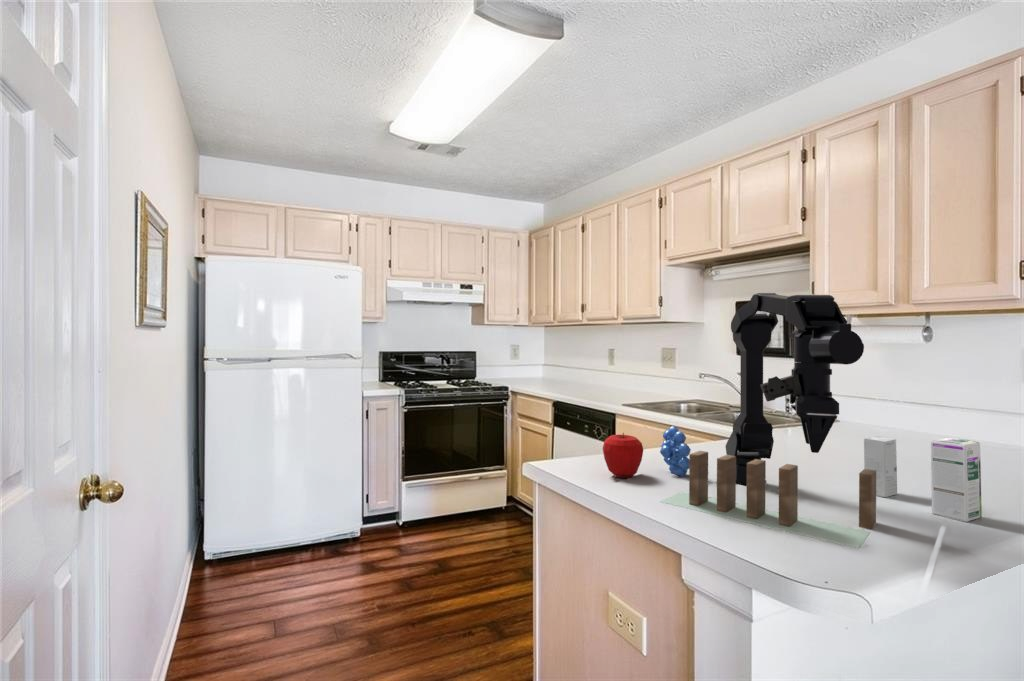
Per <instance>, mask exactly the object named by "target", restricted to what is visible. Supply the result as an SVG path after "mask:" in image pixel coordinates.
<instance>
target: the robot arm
mask: <svg viewBox="0 0 1024 681" xmlns="http://www.w3.org/2000/svg"><path fill="white" fill-rule="evenodd" d="M835 299H836V298H835V297H834V296H832V295H830V294H794V295H789V296H788V295H784V294H783V295H781V294H777V293H775V292H758V293H754V294H753V295H752V297H751V298H750V300H749V301H748V302H746V303H745V304H743V305H742V306H740V307H739V308H738V309H736V311H735V314H733V315H734V316H733V317H732V319H731V323H730V330H731V333H732V340H733V342H734V344H735V345H736V347H737V348H738V350H739V352H740V413H739V415H738V416H737V417H736V419H734V422H733V423H732V432H731V434H730V436H729V438H728V439H727V442H726V444H725V453H726V454H725V455H732V456H736V485H742V486H746V487H747V463H748V462H750V461H753V460H755V459H758V460H762V459H767V460H768V459H771V457H772V452H773V448H774V443H775V442H774V437H773V430H774V429H773V425H772V423H771V422H768V420H767V418H766V417H765V415H764V398H765V400H766V402H771V401H775V400H776V399H778V398H782V397H785V396H789V403H790V408H792V409H793V410H794V411H795V414H796V415H797V416H798V417H799V419H800V422H801V428H802V432H803V435H804V441H805V443H806V444H807V445H809V449H810V451H811V453H813V454H815V453H816V454H819V453H820V450H821V448H822V447H823V445H824V443H825V440H826V439H827V437H828V434H829V432H830V431H831V429H832V427H833V425H834V424H835V422H836V420H837V418H838V415H840V403H839V401H837V400H836V399H835V398H834V397H833V392H832V391H831V376H832V375H833V369H832V368H831V364H832V365H833V364H834V365H851V364H852V365H853V364H854V363H856V362H857V361H859V360H861V357H862V356H863V354H864V352H865V350H864V349H865V345H864V342H863V340H862V338H861V337H860V336H859V335H858V334H857V333H856V332H855V331H853V330H852V324H851V323H848V320H847V319H846V317H844V314H843V313H842V311H841V309H840V307H839V304H838V303H837V302H836V301H835ZM758 312H763V313H758ZM764 312H765V313H764ZM767 313H768V314H767ZM778 316H782V317H784V320H785V321H786V322H788V323H789V324H791V325H792V326H794V327H795V329H794V330H793V331H792V332H791V333H790V334H789V338H790V339H793V341H794V342H793V343H794V344H793V346H794V348H793V349H794V350H793V352H794V353H793V354H794V355H793V356H794V357H793V361H794V364H793V365H794V366H793V367H792V369H791V375H788V376H784V377H781V378H779V377H778V376H774V377H771V378H770V377H769V378H767V382H764V351H765V350H766V348H767V347H768V345H769V344H770V342H771V341H772V332H773V331H774V330H775V328H776V326H777V325H778V324H779V320H778Z"/></svg>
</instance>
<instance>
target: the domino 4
mask: <svg viewBox="0 0 1024 681" xmlns="http://www.w3.org/2000/svg"><path fill="white" fill-rule="evenodd" d="M798 468H799V466H798V465H797V464H791V463H786V464H784V465H782V466H781V467H779V468H778V512H779V525H782V526H787V527H791V526H792V525H793V524H794V523H795V522H796V521H798V516H799V515H798V513H799V512H798V509H799V508H798V507H799V506H798V505H799V504H798V501H799V500H798V499H799V498H798V497H799V496H798V495H799V494H798V488H799V487H798V485H799V484H798V483H799V482H798V481H799V480H798V479H799V476H798V475H799V474H798V473H799V469H798Z"/></svg>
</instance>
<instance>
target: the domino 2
mask: <svg viewBox="0 0 1024 681" xmlns="http://www.w3.org/2000/svg"><path fill="white" fill-rule="evenodd" d="M736 489H737V484H736V456H732V455H727V454H725V455H722V456H720V457H717V458H716V499H717V511H721V512H725V513H727V512H728V511H730V510H732V509H733V508H735V507H736V503H737V501H736V500H737V498H736V497H737V496H736V493H737V490H736Z"/></svg>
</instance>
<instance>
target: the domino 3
mask: <svg viewBox="0 0 1024 681" xmlns="http://www.w3.org/2000/svg"><path fill="white" fill-rule="evenodd" d="M766 464H767V463H766V460H763V459H761V460H758V459H755V460H753V461H750V462H748V463H747V486H746V505H747V511H746V517H747V518H752V519H756V520H757V519H758V518H760V517H761V516H763V515H764V514H765V509H766V488H767V487H766V484H767V480H766V478H767V476H766V472H767V471H766V470H767V469H766V467H767V466H766Z"/></svg>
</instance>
